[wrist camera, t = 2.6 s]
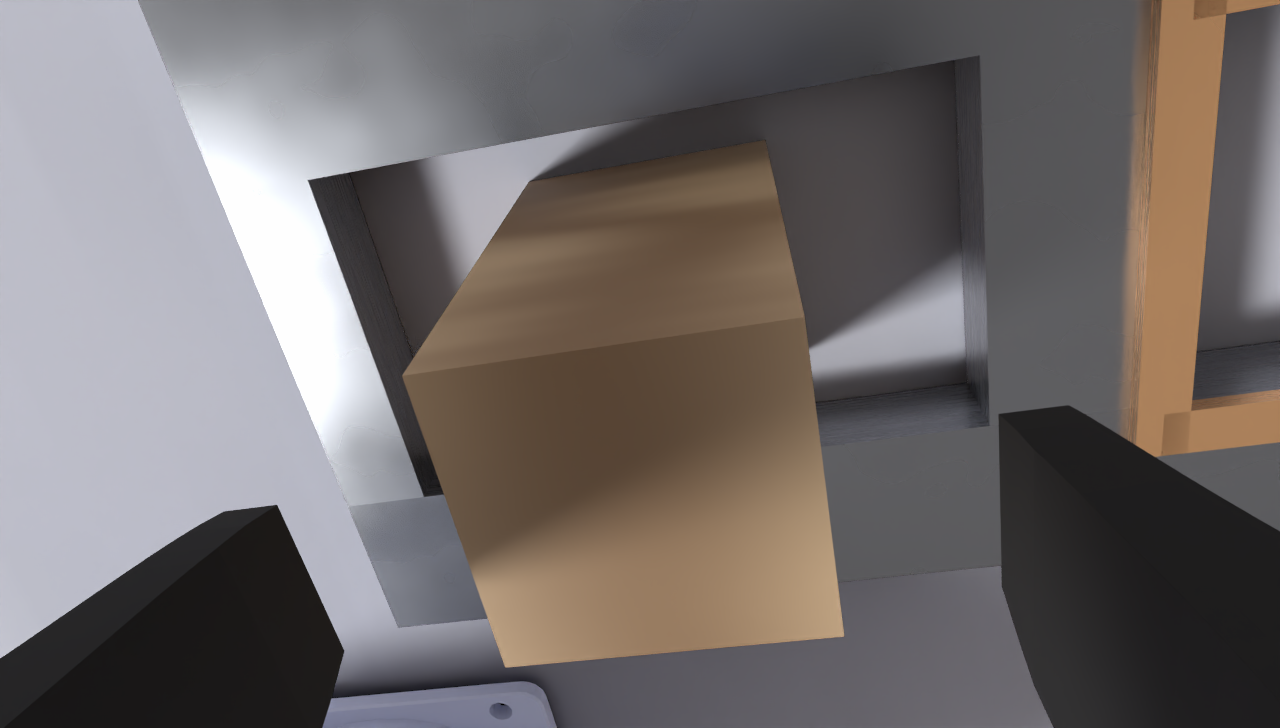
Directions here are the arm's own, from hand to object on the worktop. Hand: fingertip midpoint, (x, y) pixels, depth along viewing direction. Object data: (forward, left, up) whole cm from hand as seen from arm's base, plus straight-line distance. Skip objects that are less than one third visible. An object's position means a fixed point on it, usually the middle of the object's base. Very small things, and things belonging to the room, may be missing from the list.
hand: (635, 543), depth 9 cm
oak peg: (0, 0, -8) cm, 8 cm away
